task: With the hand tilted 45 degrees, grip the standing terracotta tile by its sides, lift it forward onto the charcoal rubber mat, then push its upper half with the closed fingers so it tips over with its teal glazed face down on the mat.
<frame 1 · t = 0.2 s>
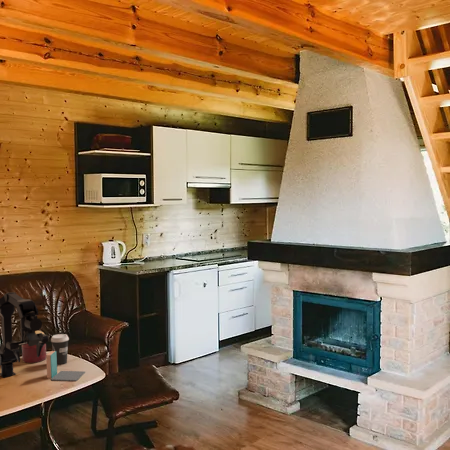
hand: (28, 359, 255), 15 cm above the table, tool pointing down, fingers open, 9 cm apart
tile: (52, 376, 274), on the table
canister: (34, 359, 300), on the table
coffee cup: (60, 363, 294), on the table
mat: (68, 376, 273), on the table
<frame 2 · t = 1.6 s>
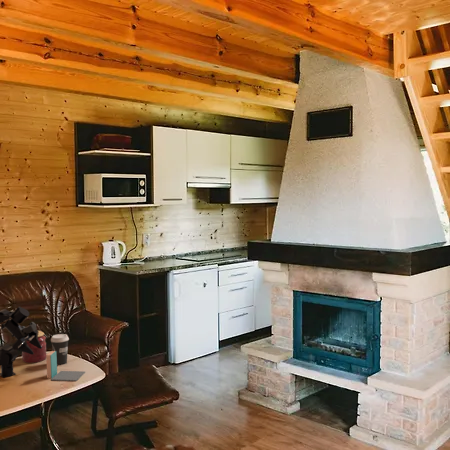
hand: (37, 351, 273), 13 cm above the table, tool tilted 45°, fingers open, 9 cm apart
nothing on the table moved.
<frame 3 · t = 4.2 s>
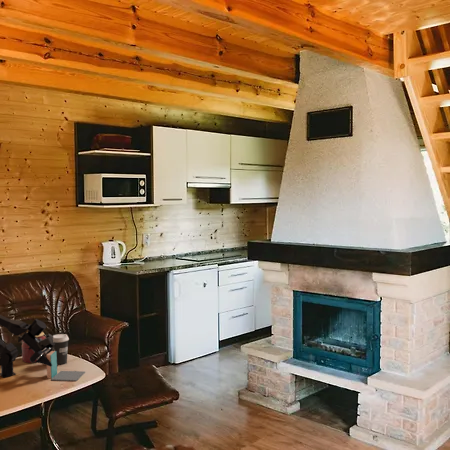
hand: (54, 363, 273), 7 cm above the table, tool tilted 45°, fingers closed on tile, 6 cm apart
tile: (52, 376, 274), on the table, touching gripper
everything else where it was.
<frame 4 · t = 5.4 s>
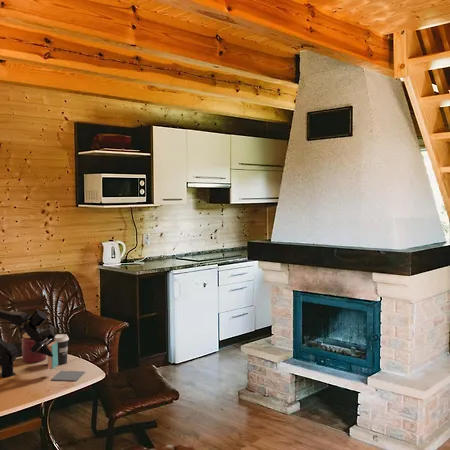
hand: (55, 354, 273), 12 cm above the table, tool tilted 45°, fingers closed on tile, 6 cm apart
tile: (53, 366, 273), point 5 cm above the table, touching gripper
everything else where it was.
when the fingers open (8 cm above the table, at t = 7.1 s): tile stays where it is, resting on mat.
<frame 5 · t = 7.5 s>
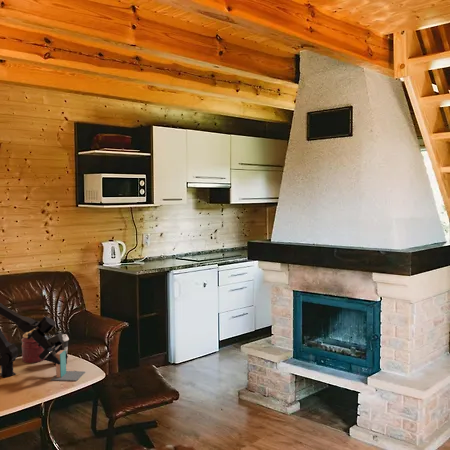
hand: (63, 360, 272), 8 cm above the table, tool tilted 45°, fingers open, 9 cm apart
tile: (61, 375, 273), point 1 cm above the table, touching mat
everything else where it was.
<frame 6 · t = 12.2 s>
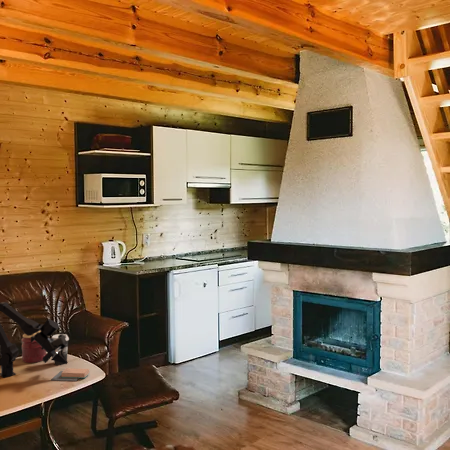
hand: (67, 363, 272), 7 cm above the table, tool tilted 45°, fingers closed
tile: (64, 372, 273), point 2 cm above the table, tilted 90°, touching mat
everything else where it was.
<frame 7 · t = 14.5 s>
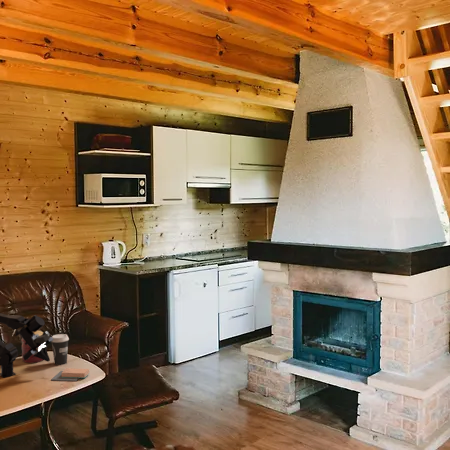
hand: (49, 361, 273), 8 cm above the table, tool tilted 40°, fingers closed
nothing on the table moved.
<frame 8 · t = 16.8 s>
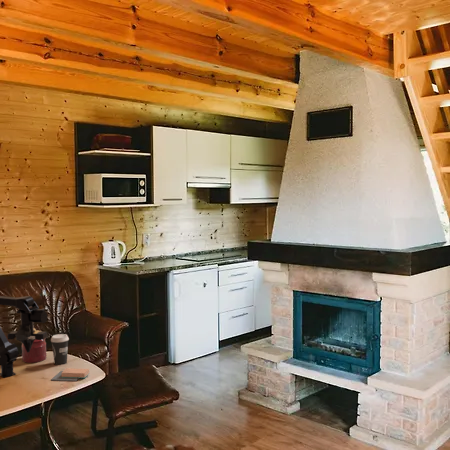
hand: (28, 352, 272), 13 cm above the table, tool pointing down, fingers closed
nothing on the table moved.
at the end: tile tilted 90°; tile touching mat; tile inside the target area (0.9 cm from its centre), point 1.8 cm above the table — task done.
